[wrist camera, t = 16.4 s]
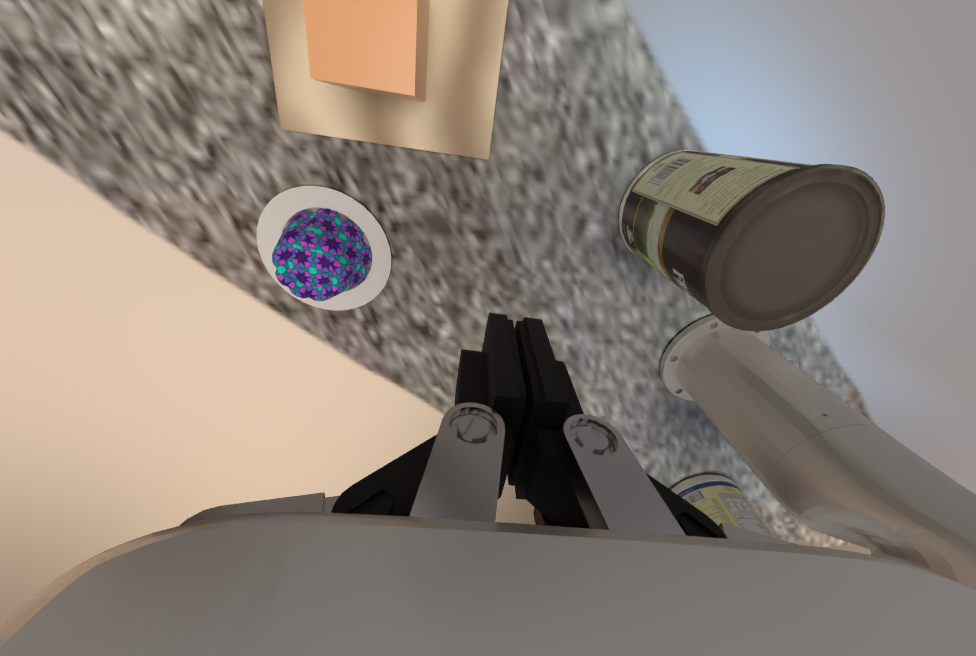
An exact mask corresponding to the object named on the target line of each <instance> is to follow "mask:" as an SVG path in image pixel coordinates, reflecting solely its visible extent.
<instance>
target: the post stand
mask: <svg viewBox="0 0 976 656" xmlns="http://www.w3.org/2000/svg"><path fill="white" fill-rule="evenodd" d="M263 6H264V13H265V20H266V27H267V34H268V41H269V48H270V55H271V63H272V70H273V77H274V84H275V91H276V98H277V105H278V112H279V119H280V126H281V129H283V130H290V131H297V132H304V133H310V134H317V135H324V136H331V137H337V138H344V139H351V140H358V141H365V142H371V143H378V144H385V145H392V146H399V147H405V148H412V149H419V150H426V151H433V152H439V153H446V154H453V155H460V156H466V157H473V158H480V159H487V160H488V159H489V151H490V143H491V135H492V127H493V119H494V111H495V103H496V95H497V87H498V79H499V71H500V63H501V55H502V47H503V39H504V31H505V23H506V15H507V7H508V0H430V4H429V28H428V52H427V76H426V100H425V102H423V101H417V100H411V99H405V98H399V97H393V96H387V95H381V94H375V93H369V92H363V91H357V90H351V89H345V88H342V87H339V86H335V85H332V84H328V83H325V82H321V81H318V80H314V79H311V78H310V68H309V57H308V47H307V36H306V26H305V15H304V5H303V0H263Z"/></svg>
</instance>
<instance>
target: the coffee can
mask: <svg viewBox="0 0 976 656" xmlns="http://www.w3.org/2000/svg"><path fill="white" fill-rule="evenodd" d="M884 218H885V205H884V199H883V195H882V193H881V190H880V188H879V187H878V185H877V183H876V182H875V181H874V180H873V178H872V177H870V176H869V175H868V174H867V173H865V172H863V171H862V170H859V169H857V168H854V167H850V166H843V165H833V164H819V165H808V164H800V163H792V162H785V161H776V160H767V159H759V158H751V157H743V156H733V155H725V154H716V153H708V152H702V151H699V150H693V149H682V150H676V151H673V152H670V153H666V154H664V155H662V156H661V157H659V158H657V159H655V160H654V161H652V162H651V163H650V164H648V165H647V166H646V167H645V168H644V169H643V170H641V171H640V172H639V174H638V175H637V176H636V177H635V178H634V180H633V181H632V183H631V184H630V185H629V187H628V189H627V191H626V193H625V195H624V197H623V200H622V203H621V206H620V210H619V231H620V235H621V238H622V240H623V242H624V244H625V245H626V247H627V248H628V249H629V250H630V251H631V252H632V253H633V254H635V255H636V256H638V257H639V258H641V259H643V260H644V261H646V262H647V263H648V264H650V265H651V266H652V267H654V268H655V269H656V270H658V271H659V272H660V273H662V274H663V275H664V276H666V277H667V278H668V279H669V280H671V281H672V282H674V283H675V284H676V285H677V286H679V287H680V288H681V289H683V290H684V291H685V292H687V293H688V294H689V295H690V296H692V297H693V298H695V299H696V300H697V301H699V302H700V303H701V304H703V305H704V306H705V307H707V308H708V309H709V310H710V312H711V313H712V314H713V315H714V316H716V317H717V318H718V319H719V320H720V321H722V322H723V323H724V324H726V325H728V326H730V327H733V328H735V329H739V330H743V331H768V330H773V329H777V328H782V327H785V326H788V325H790V324H793V323H796V322H798V321H800V320H802V319H804V318H806V317H808V316H810V315H812V314H814V313H815V312H817V311H818V310H820V309H821V308H823V307H824V306H826V305H827V304H828V303H830V302H831V301H833V300H834V299H835V298H836V297H837V296H838V295H839V294H841V293H842V292H843V291H844V290H845V289H846V288H847V287H848V286H849V285H850V284H851V283H852V282H853V281H854V280H855V278H856V277H857V276H858V275H859V274H860V272H861V271H862V270H863V268H864V266H865V265H866V264H867V262H868V261H869V259H870V258H871V256H872V254H873V252H874V250H875V248H876V246H877V244H878V242H879V239H880V236H881V233H882V229H883V225H884Z"/></svg>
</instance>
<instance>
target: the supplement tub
mask: <svg viewBox="0 0 976 656" xmlns="http://www.w3.org/2000/svg"><path fill="white" fill-rule="evenodd" d="M671 491H673V492H674V493H676V494H677V495H679V496H680V497H681V498H683V499H684V500H686V501H687V502H689V503H690V504H692V505H693V506H695V507H696V508H698V509H699V510H700V511H702V512H703V513H705V514H706V515H707V516H708V517H709V518H711V519H712V520H713V521H714V522H715V523H716V524H717V525H718V526H719V524H720V523H721V522H722V523H725V524H729V525H732V526H736V527H739V528H743V529H746V530H749V531H753V532H756V533H760V534H763V535H767V536H770V537H774V538H776V537H775V535H774V534H773V533H772V532H771V530H770V529H769V528H768V526H767V525H766V524H765V522H764V521H763V520H762V518H761V517H760V516H759V514H758V513H757V512H756V510H755V509H754V508H753V506H752V505H751V504H750V502H749V501H748V500H747V498H746V497H745V496H744V494H743V493H742V492H741V490H740V489H739V487H738V486H737V485H736V484H735V483H734V482H733V481H731V480H730V479H728V478H726V477H723V476H719V475H700V476H695V477H692V478H689V479H686V480H684V481H682V482H680V483H679V484H677V485H676V486H674V487H673V488H672V489H671Z"/></svg>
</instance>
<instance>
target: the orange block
mask: <svg viewBox="0 0 976 656" xmlns="http://www.w3.org/2000/svg"><path fill="white" fill-rule="evenodd" d="M429 4H430V0H303V5H304V15H305V26H306V36H307V47H308V57H309V68H310V78H311V79H314V80H318V81H321V82H325V83H328V84H332V85H335V86H339V87H342V88H345V89H351V90H357V91H363V92H369V93H375V94H381V95H387V96H393V97H399V98H405V99H411V100H417V101H423V102H425V100H426V76H427V52H428V28H429Z"/></svg>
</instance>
